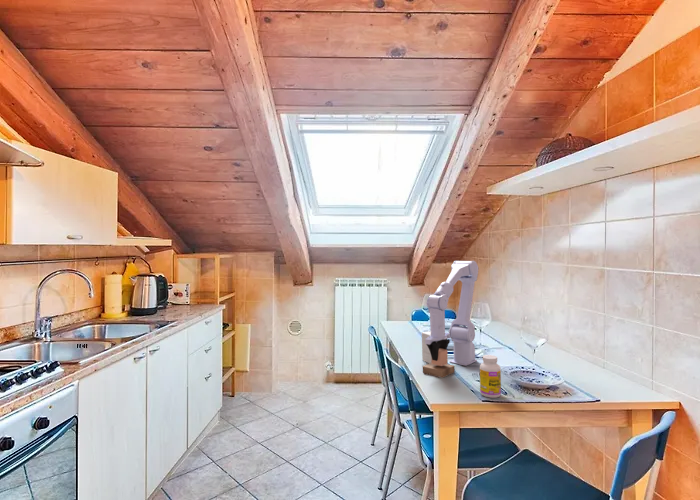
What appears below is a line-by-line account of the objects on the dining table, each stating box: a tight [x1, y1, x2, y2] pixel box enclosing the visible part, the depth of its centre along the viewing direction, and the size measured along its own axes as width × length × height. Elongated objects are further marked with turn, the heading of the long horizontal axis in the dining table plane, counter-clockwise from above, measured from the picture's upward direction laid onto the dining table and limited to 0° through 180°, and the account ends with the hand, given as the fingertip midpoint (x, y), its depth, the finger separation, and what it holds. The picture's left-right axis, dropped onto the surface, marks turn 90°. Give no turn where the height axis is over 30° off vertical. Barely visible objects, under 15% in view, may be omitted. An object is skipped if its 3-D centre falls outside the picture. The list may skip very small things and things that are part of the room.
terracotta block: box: [432, 348, 449, 366], centre depth 155 cm, size 4×4×6 cm
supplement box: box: [421, 330, 437, 364], centre depth 170 cm, size 7×7×13 cm
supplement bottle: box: [479, 354, 502, 399], centre depth 131 cm, size 7×7×13 cm
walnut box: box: [422, 363, 456, 379], centre depth 155 cm, size 9×9×3 cm
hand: (438, 358), depth 155 cm, fingers closed on terracotta block, 4 cm apart
